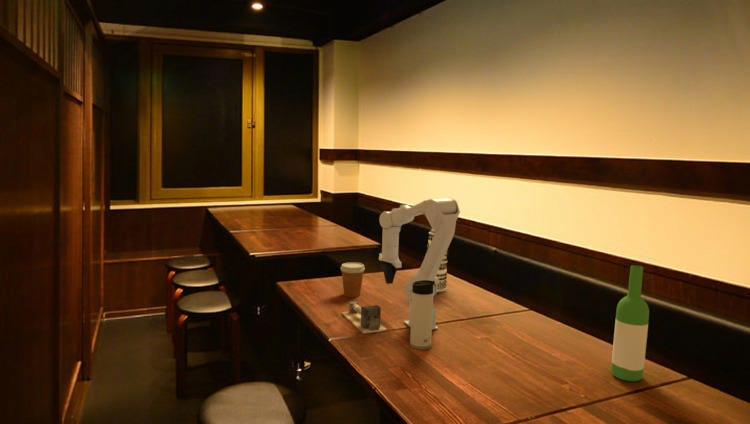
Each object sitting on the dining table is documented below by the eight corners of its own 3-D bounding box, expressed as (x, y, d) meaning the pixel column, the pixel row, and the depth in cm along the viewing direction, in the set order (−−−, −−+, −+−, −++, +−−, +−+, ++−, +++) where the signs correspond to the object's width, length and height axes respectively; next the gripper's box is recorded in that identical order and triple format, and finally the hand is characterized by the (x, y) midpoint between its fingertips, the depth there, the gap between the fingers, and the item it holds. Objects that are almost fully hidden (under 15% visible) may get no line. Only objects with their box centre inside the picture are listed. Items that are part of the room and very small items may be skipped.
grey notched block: (380, 326, 171) (380, 307, 171) (364, 328, 169) (364, 309, 168) (376, 323, 174) (377, 305, 173) (360, 325, 172) (361, 306, 171)
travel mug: (431, 351, 154) (433, 284, 152) (408, 348, 156) (411, 282, 153) (433, 343, 160) (435, 279, 158) (411, 341, 162) (413, 277, 159)
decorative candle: (450, 288, 221) (453, 228, 217) (441, 293, 213) (444, 232, 209) (431, 284, 225) (433, 226, 222) (421, 289, 218) (423, 229, 214)
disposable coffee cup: (336, 292, 210) (336, 263, 208) (358, 290, 214) (359, 261, 212) (345, 299, 201) (345, 268, 200) (368, 297, 205) (368, 266, 204)
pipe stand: (386, 330, 170) (386, 318, 169) (363, 333, 167) (363, 321, 166) (363, 311, 188) (363, 300, 188) (341, 313, 185) (342, 302, 184)
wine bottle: (615, 367, 147) (625, 261, 142) (645, 376, 142) (657, 266, 138) (606, 376, 141) (616, 266, 136) (638, 385, 136) (649, 271, 132)
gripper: (371, 242, 190) (370, 278, 192) (388, 250, 177) (387, 289, 179) (389, 241, 193) (388, 277, 195) (407, 249, 180) (406, 287, 182)
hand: (389, 283), depth 187 cm, fingers closed
